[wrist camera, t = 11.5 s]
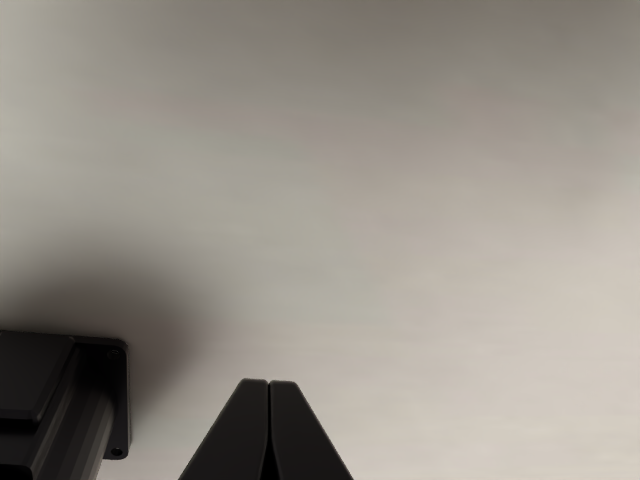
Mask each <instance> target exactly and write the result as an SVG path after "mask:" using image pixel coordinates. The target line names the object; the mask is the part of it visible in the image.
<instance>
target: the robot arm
mask: <svg viewBox="0 0 640 480" xmlns="http://www.w3.org/2000/svg"><path fill="white" fill-rule="evenodd" d="M110 350H115V351H118V352H119V353H117V354H116V353H113V352H111V351H110ZM117 448H119V449H117ZM129 448H130V385H129V348H128V345H127V344H126V343H125V342H124V341H122V340H119V339H112V338H99V337H85V336H71V335H57V334H44V333H30V332H16V331H2V330H0V480H96V477H97V474H98V471H99V468H100V465H101V462H102V459H109V460H121V459H124V458H126V457H127V456H128V452H129ZM178 480H354V479H353V478H352V476H351V474H350V472H349V471H348V469H347V467H346V466H345V464H344V462H343V461H342V459H341V457H340V456H339V454H338V452H337V451H336V449H335V447H334V446H333V444H332V442H331V441H330V439H329V437H328V435H327V434H326V432H325V430H324V429H323V427H322V425H321V424H320V422H319V420H318V419H317V417H316V415H315V414H314V412H313V410H312V409H311V407H310V405H309V404H308V402H307V400H306V398H305V397H304V395H303V393H302V392H301V390H300V388H299V387H298V385H297V384H296V383H295V382H292V381H279V380H272V381H270V383H269V385H268V382H267V381H266V380H264V379H248V378H245V379H242V380H241V381H240V382H239V384H238V386H237V387H236V389H235V390H234V392H233V393H232V395H231V397H230V398H229V400H228V401H227V403H226V405H225V406H224V408H223V409H222V411H221V412H220V414H219V416H218V417H217V419H216V420H215V422H214V424H213V425H212V427H211V428H210V430H209V431H208V433H207V435H206V436H205V438H204V439H203V441H202V443H201V444H200V446H199V447H198V449H197V451H196V452H195V454H194V455H193V457H192V458H191V460H190V462H189V463H188V465H187V466H186V468H185V470H184V471H183V473H182V474H181V476H180V477H179V479H178Z"/></svg>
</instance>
